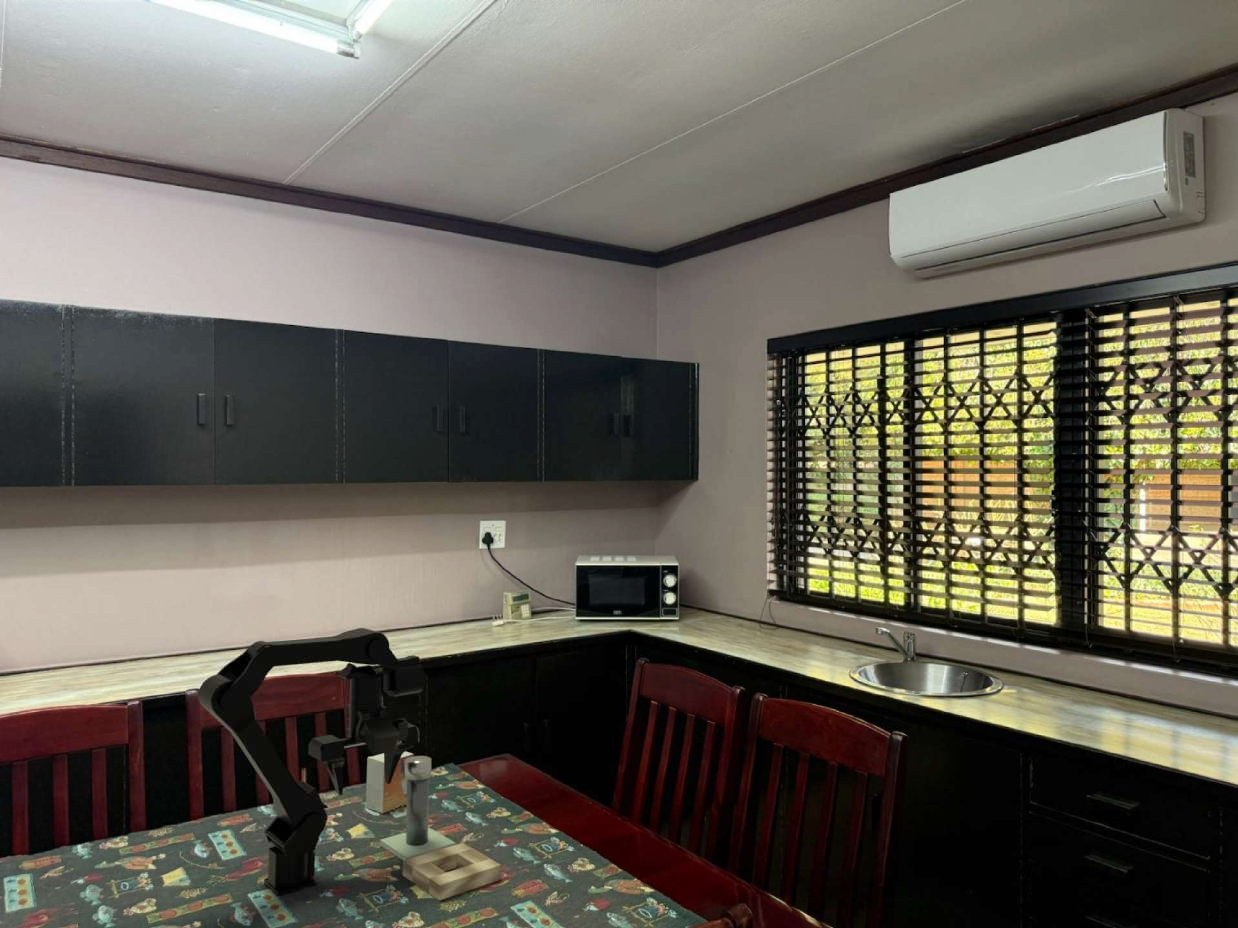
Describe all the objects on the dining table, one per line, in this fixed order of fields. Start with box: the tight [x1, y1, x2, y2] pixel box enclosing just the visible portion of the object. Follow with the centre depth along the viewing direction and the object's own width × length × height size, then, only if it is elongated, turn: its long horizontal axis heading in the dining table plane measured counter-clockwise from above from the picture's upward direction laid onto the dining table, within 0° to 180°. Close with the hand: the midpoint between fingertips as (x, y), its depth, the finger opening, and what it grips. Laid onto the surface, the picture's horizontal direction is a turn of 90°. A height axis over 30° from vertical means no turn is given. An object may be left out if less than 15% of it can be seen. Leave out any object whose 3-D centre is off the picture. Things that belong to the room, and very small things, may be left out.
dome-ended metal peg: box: [405, 755, 432, 846], centre depth 166 cm, size 5×5×15 cm
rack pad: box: [379, 826, 456, 862], centre depth 166 cm, size 10×10×1 cm
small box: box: [365, 750, 415, 814], centre depth 187 cm, size 8×6×10 cm
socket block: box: [402, 842, 502, 901], centre depth 154 cm, size 12×12×2 cm
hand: (364, 788), depth 159 cm, fingers open, 9 cm apart
